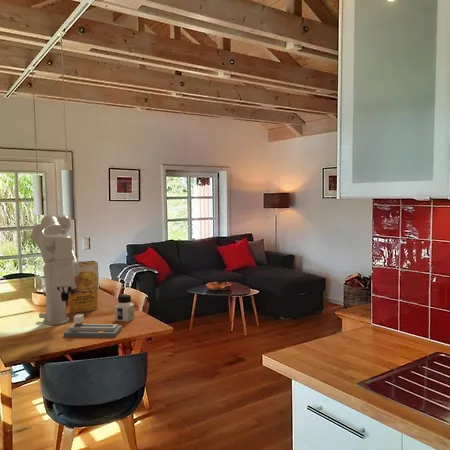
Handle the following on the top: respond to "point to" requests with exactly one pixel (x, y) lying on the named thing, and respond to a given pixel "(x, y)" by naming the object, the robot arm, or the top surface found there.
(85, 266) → the pancake mix bag
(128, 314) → the container
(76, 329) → the console
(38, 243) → the robot arm
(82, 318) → the fader
